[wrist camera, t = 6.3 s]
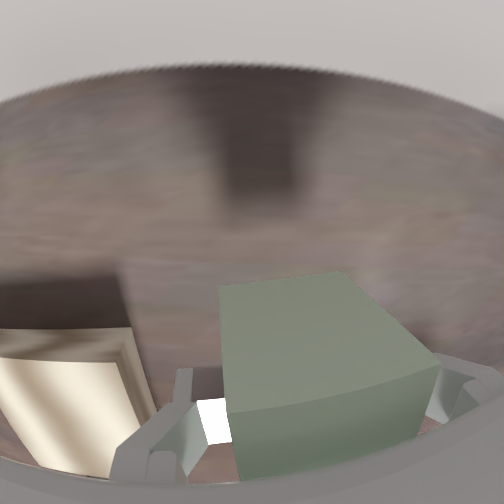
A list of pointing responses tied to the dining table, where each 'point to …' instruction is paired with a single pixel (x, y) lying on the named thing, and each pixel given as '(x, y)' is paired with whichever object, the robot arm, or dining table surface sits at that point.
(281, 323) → the sage block
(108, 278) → the dining table surface
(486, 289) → the dining table surface
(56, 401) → the cream plinth
